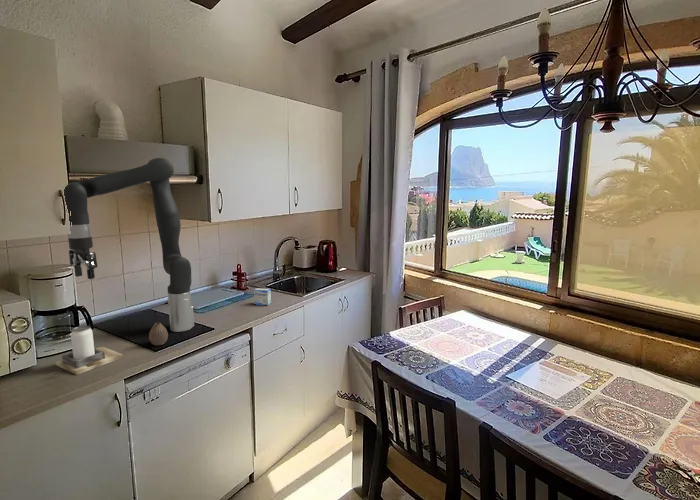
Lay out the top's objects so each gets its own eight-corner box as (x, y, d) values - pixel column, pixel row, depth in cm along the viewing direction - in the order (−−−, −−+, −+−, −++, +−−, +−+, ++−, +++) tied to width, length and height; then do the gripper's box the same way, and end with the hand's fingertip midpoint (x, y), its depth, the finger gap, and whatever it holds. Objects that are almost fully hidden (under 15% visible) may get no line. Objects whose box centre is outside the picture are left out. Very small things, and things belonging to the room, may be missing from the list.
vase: (172, 341, 164) (170, 321, 162) (159, 348, 157) (157, 327, 156) (159, 339, 166) (157, 319, 165) (145, 345, 160) (144, 325, 158)
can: (84, 364, 140) (81, 332, 138) (69, 362, 141) (65, 331, 139) (99, 356, 146) (96, 326, 144) (84, 355, 147) (81, 324, 145)
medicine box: (254, 305, 213) (253, 289, 212) (257, 302, 218) (257, 287, 216) (268, 306, 212) (267, 290, 211) (271, 303, 216) (270, 288, 215)
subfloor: (102, 349, 156) (101, 340, 155) (122, 357, 149) (122, 348, 148) (56, 365, 142) (54, 355, 141) (76, 374, 135) (75, 364, 135)
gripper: (101, 236, 150) (105, 277, 153) (80, 233, 156) (84, 273, 159) (79, 238, 143) (85, 282, 146) (58, 235, 150) (64, 277, 153)
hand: (85, 277), depth 153 cm, fingers open, 8 cm apart
